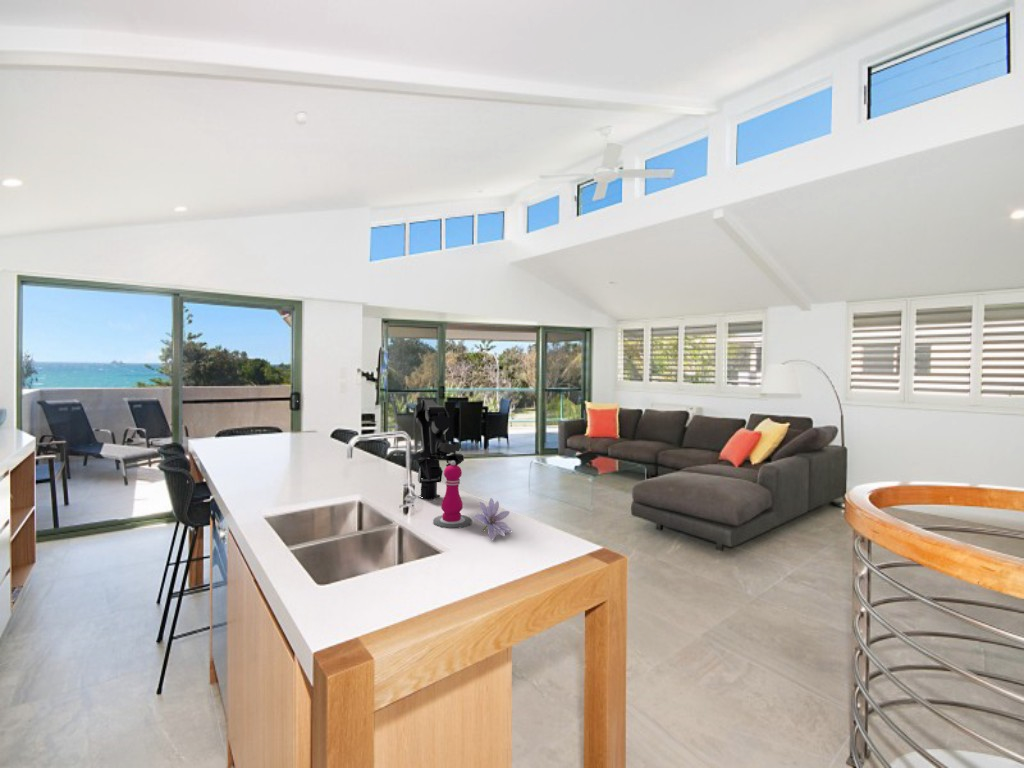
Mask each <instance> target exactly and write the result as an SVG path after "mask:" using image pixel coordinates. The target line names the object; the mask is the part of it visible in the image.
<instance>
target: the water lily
mask: <svg viewBox="0 0 1024 768" xmlns="http://www.w3.org/2000/svg"><path fill="white" fill-rule="evenodd" d="M478 504H479V507H480V510H481V512H482V513H476V514H474V518H475V519H476V520H477V521H479V522H481V523H483V525H485V526H484V527H483V529H482V531H483V532H484V530H486V529H487V533H488V537H489V539H490V540H491V541H493V540H492V539H494V540H495V539H496V532H497V533H498V534H499V535H501V536H502V537H505V535H506V534H505V532H506V533H510V532H511V531H512V532H513V530H512V529H511V528H510V527H509V525H508V523H507V522H504V521H502V520H504V519H506V518H507V517H508V516H509V515H510V511H509V510H503V511H501V512H499V513H498V511H499V508H500V503H499V500H496V502H495V501H494V499H493V498H492V497H491V498H490V499H489V501H488V506H486V505H485V503H484V502H482V501H479V503H478ZM512 532H511V533H512ZM511 533H510V534H511Z"/></svg>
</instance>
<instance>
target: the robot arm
mask: <svg viewBox="0 0 1024 768" xmlns="http://www.w3.org/2000/svg"><path fill="white" fill-rule="evenodd" d="M413 416H414V419H415V421H416V425H417V426H418V427H419V428H420V435H421V444H422V445H421V447H422V449H420V450H419V451H416V452H415V453H413V456H412V461H413V462H415V463H416V465H418V466H419V469H418V474H417V482H418V483H419V484H420V486H421V487H420V495H419V496H421V497H423V498H422V499H425V500H434V499H437V498H440V497H441V495H440V494H438V492H437V491H438V483H441V482H442V479H443V478H442V477H443V474H444V470H443V469H442V467H441V466H440V461H446V463H447V464H445V465H446V467H447V466H449V465H451V464H450V463H451V461H455V462H456V464H455V465H457V466H459V465H460V464H461V463H463V462H464V461H465V457H464V455H463V454H462V453H457V452H459V451H460V450H461V444H460V442H459V441H453V442H452V443H450V442H449V440H448V439H447V438H446V432H448V430H449V428H450V427H451V420H450V418H451V416H450V414H449V412H448V410H447V409H446V407H445V406H443V405H438V404H437V403H436V402H435V398H434V399H433V398H422V399H421V401H420V402H418V404H416V405H415V408H414V414H413ZM446 467H445V468H446Z"/></svg>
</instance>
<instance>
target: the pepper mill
mask: <svg viewBox="0 0 1024 768" xmlns="http://www.w3.org/2000/svg"><path fill="white" fill-rule="evenodd" d="M450 464H451V465H449V466H447V467H445V468H444V470H443V476H444V477H445V479H444V480H445V482H444V483H445V485H446V490H445V494H444V496H443V498H442V501H441V504H440V505H441V510H442V511H443V513H442V515H443V517H442V519H443V520H444V521H448V522H454V521H459V520H460V519H461V515H462V513H461V511H462V510H463V508H464V506H463V505H464V504H463V500H462V498H461V496H460V492H459V490H460V489H459V487H460V486H459V485H460V484H461V483H460V482H461V480H460V478H461V477H462V474H463V472H462V469H461V467H460V466H459V465H455V464H456V462H455V461H451V463H450Z"/></svg>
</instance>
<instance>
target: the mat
mask: <svg viewBox="0 0 1024 768" xmlns="http://www.w3.org/2000/svg"><path fill="white" fill-rule="evenodd" d="M442 517H443V514H442V515H438V516H436V517H434V518H433V519H432V521H433V523H432V524H434V525H435V526H436V525H437V526H436V527H439V526H440V527H439V528H443V527H446V528H445V529H459V527H461V528H465V527H468V526H470V525H471V524H472V523H471V522H473V519H472V517H470V516H467V515H465V514H464V515H463V514H461V519H460V520H459V521H454V522H448V521H444V520H443V519H442ZM469 524H470V525H469ZM467 525H468V526H467ZM464 526H465V527H464Z"/></svg>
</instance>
